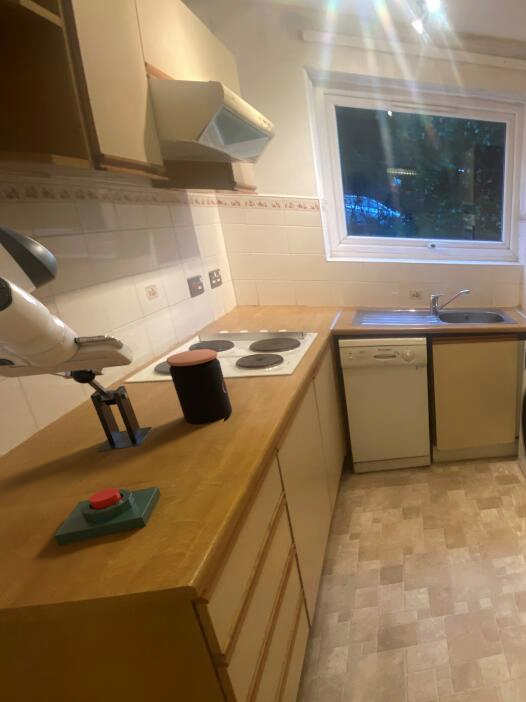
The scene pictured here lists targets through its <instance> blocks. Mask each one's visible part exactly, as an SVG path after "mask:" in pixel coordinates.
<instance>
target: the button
mask: <svg viewBox="0 0 526 702" xmlns="http://www.w3.org/2000/svg"><path fill="white" fill-rule="evenodd" d="M88 500H89V501H90V503H91V506H92V508H93V509H102V508H106V507H109V506H111V505H114V504H116V503H117V502H118V501H120V500H121V495H120V493H119V490H118V488H116V487H110V488H105V489H101V490H99V491H97V492H95V493H93V494H92V495H90V496H89V498H88Z"/></svg>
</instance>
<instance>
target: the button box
mask: <svg viewBox="0 0 526 702" xmlns="http://www.w3.org/2000/svg"><path fill="white" fill-rule="evenodd" d="M117 489H118V488H117ZM118 490H119V493H120V495H121V500H120V501H118V502H117V503H116V504H114V505H111V506H109V507H106V508H102V509H93V508H92V506H91V503H90V501H89V499H86V500H81V501H79V502H78V503H77V505H76V506H75V507H74V508H73V509H72V511H71V512H70V514H69V515H68V517H67V518H66V519H65V521H63V523H62V524H61V526H59V528H58V530H57V531H56V532H55V534H54V535H53V537H54V540H55V541H56V543H57V545H58V546H65V545H69V544H72V543H78V542H82V541H86V540H92V539H96V538H101V537H104V536H105V537H106V536H110V535H113V534H118V533H123V532H127V531H132V530H136V529H141V528H146V527H147V525H148V523H149V521H150V518H151V517H152V516H153V515H152V514H153V513H154V510H155V508H156V506H157V504H158V502H159V500H160V498H161V496H162V494H161V492H160V488H159V486H158V485H157V486H151V487H147V488H142V489H141V488H140V489H136V490H132V491H130V490H129V489H123V488H122V489H121V488H119V489H118Z"/></svg>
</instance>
